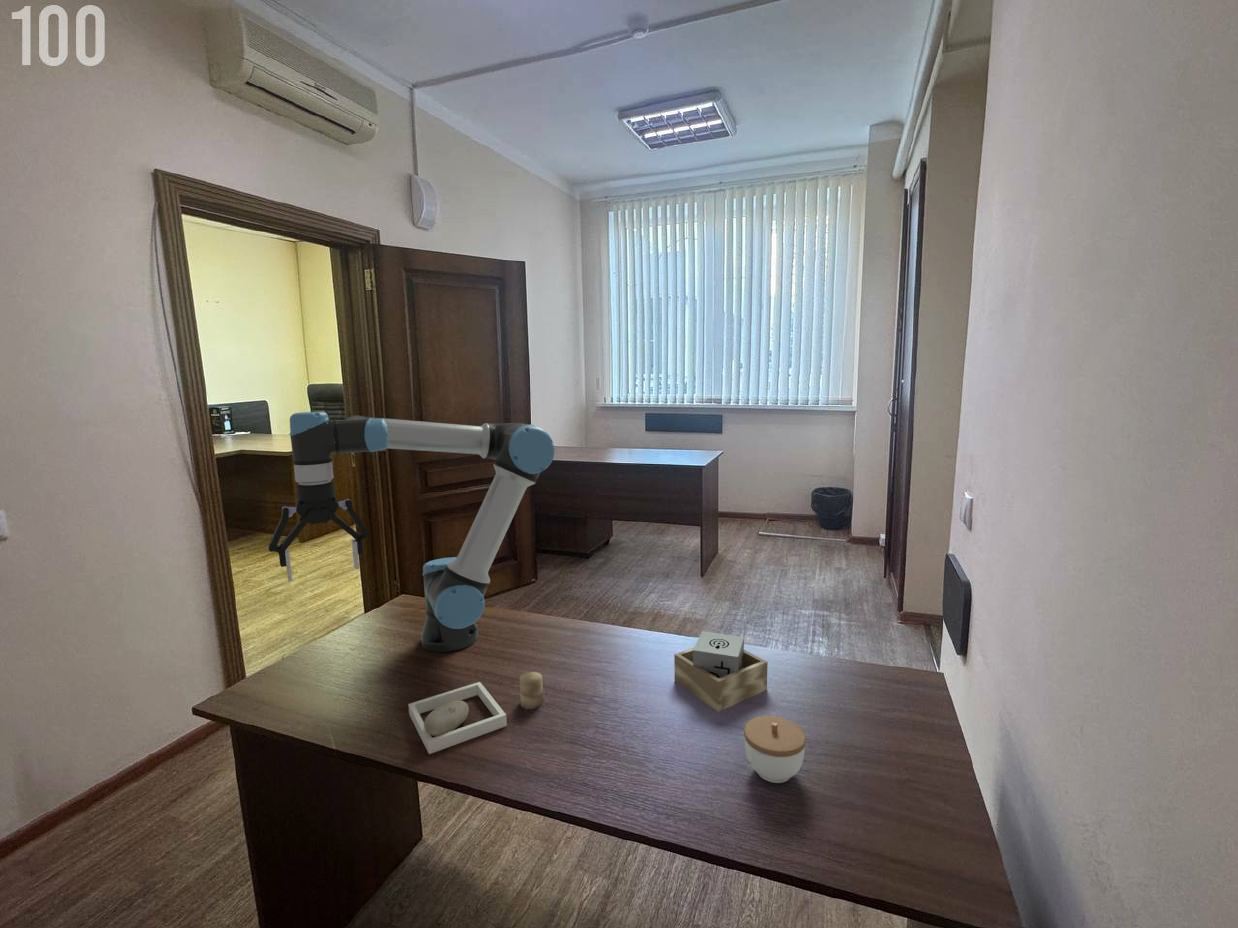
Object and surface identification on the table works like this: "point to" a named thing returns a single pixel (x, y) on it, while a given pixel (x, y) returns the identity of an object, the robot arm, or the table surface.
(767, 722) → the lidded jar
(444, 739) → the white rectangular frame
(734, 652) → the icon cube
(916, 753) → the table surface
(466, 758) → the table surface
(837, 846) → the table surface
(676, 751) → the table surface
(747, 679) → the oak crate
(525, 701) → the short oak dowel
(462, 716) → the stone
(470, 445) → the robot arm
